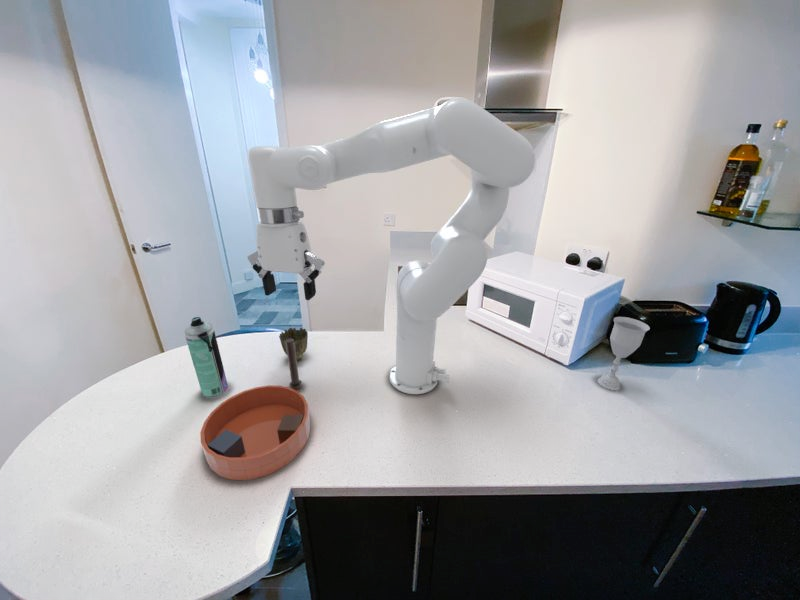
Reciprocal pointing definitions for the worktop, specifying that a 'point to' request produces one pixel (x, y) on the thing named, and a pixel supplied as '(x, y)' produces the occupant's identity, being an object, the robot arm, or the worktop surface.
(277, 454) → the bowl
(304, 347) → the cup
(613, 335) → the chalice
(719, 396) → the worktop surface
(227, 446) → the slate block
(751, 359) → the worktop surface
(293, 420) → the walnut block
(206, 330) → the spray can
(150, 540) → the worktop surface
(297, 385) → the muddler
